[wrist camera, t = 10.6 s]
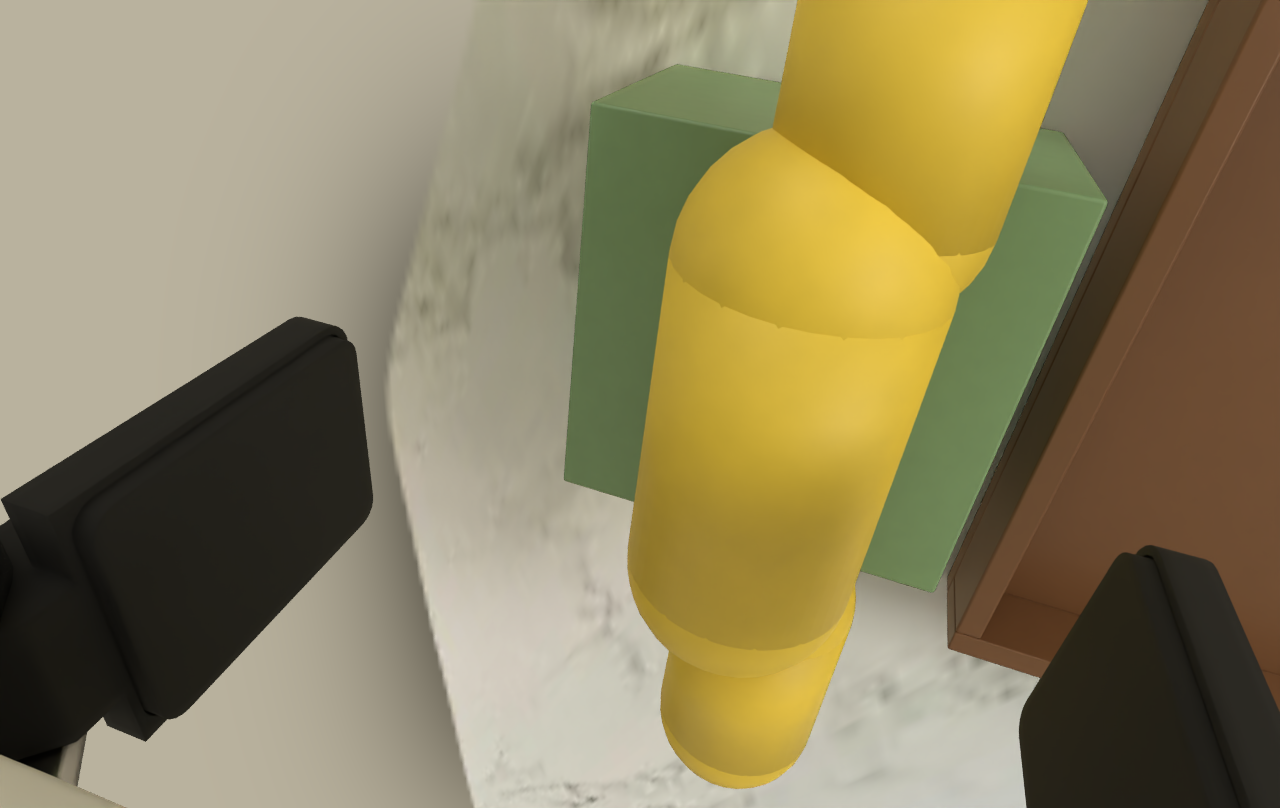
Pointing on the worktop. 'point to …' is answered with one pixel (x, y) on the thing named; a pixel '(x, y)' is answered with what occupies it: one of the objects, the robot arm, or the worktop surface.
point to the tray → (1155, 378)
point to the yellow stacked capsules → (817, 347)
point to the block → (966, 367)
